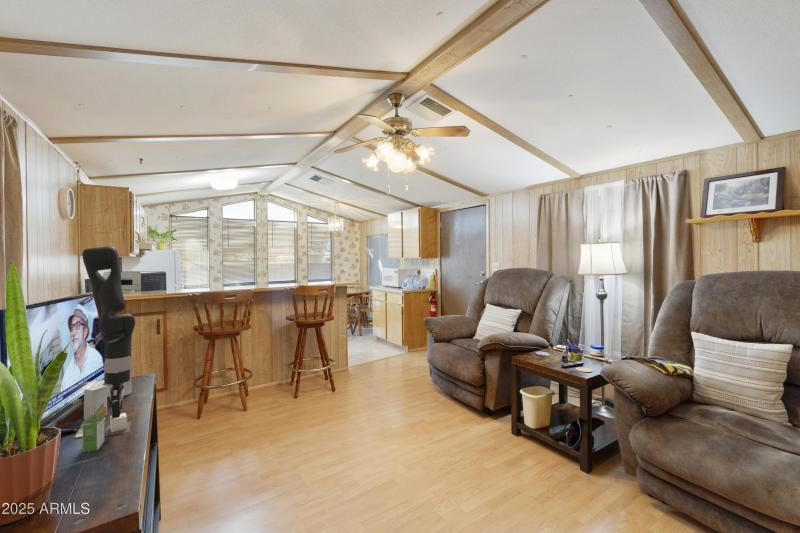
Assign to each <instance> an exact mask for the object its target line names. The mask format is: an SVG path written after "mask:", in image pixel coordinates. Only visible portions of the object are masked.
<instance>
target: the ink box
mask: <svg viewBox="0 0 800 533" xmlns="http://www.w3.org/2000/svg"><path fill="white" fill-rule="evenodd" d="M101 408H102V411H101V412H100V413H99V411H100V409H101ZM104 418H105V416H104V403H103V404H102V405H101V406H100V407H99V408H98V409H97V414H93V415H90V416H89V417H88V418H87V419H86V420H83V421H82V422H83V438H82V453H89V452H95V451H98V450H99V449H100V448H101V447H102V445H103V443H104V442H105V423H104Z"/></svg>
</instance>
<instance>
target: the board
mask: <svg viewBox="0 0 800 533" xmlns="http://www.w3.org/2000/svg"><path fill="white" fill-rule="evenodd" d="M106 420H107V418H106V417H104V424H105V423H106ZM83 422H84V421H82V422H81V424H80V425H79V428H78V429H77V432H76V434H75V435H74V437H73V439H74V440H77V439H83Z"/></svg>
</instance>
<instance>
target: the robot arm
mask: <svg viewBox="0 0 800 533" xmlns="http://www.w3.org/2000/svg"><path fill="white" fill-rule="evenodd" d="M81 254H82V261H83V264H84V267H85V270H86V272H87V276H88V280H89V282H90V286H91V291H92V297H93V301H94V305H95V308H96V312H97V315H98V320H99V323H98V329H99V332H100V333H101V334H100V335H101V339H102V341H103V342H104V343H105V347H104V348H105V349H104V350H105V351H104V354H105V356H104V363H103V364H104V366H103V367H104V368H103V369H104V372H103V373H104V376H103V378H104V379H103V380H104V381H103V382H104V384H105V386H107V399H108V398H110V404H109V406H110V408H111V416H112V418H118V417H120V414H121V411H122V410H123V399H124V397H125V396H128V395H130V394H131V393H132V337H133V332H134V329H135V328H136V318H135V316H134V315H133V314H131V313H121V312H123V311H124V310H125V309H126V302H125V297H124V294H123V289H122V288H123V287H122V274H121V273H122V269H121V262H120V256H119V252H118V250H117V248H116V247H115V246H113V245H112V246H111V245H109V246H108V245H106V246H99V247H98V246H97V247H89V248H86V249H83V251H82V253H81ZM104 270H105V271H107V270H110V271H109V272H110V273H109V274H108V276H107V278H105V277H104V276H103V275H102V274H101V273H100V271H104ZM119 313H121V314H119Z"/></svg>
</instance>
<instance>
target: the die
mask: <svg viewBox="0 0 800 533" xmlns="http://www.w3.org/2000/svg"><path fill="white" fill-rule="evenodd" d="M127 422H128V416H127V413H126V412H123V413H120V417H118V418H112V415H110V416H109V425H110V430H111V432H115V431H119V430H123V429H127Z"/></svg>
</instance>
